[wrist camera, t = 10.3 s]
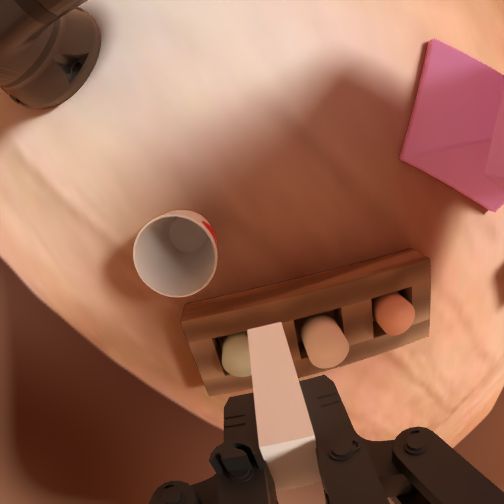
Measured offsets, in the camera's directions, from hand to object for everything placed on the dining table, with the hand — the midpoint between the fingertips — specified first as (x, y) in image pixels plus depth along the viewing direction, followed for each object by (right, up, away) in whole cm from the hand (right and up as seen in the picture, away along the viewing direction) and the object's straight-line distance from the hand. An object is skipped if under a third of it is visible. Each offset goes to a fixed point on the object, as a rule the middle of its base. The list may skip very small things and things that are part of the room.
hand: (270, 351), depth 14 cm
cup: (-9, +7, +25) cm, 28 cm away
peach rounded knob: (+8, -6, +24) cm, 26 cm away
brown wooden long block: (+7, -4, +29) cm, 30 cm away
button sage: (-2, -7, +27) cm, 28 cm away
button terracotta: (+17, -3, +27) cm, 32 cm away
